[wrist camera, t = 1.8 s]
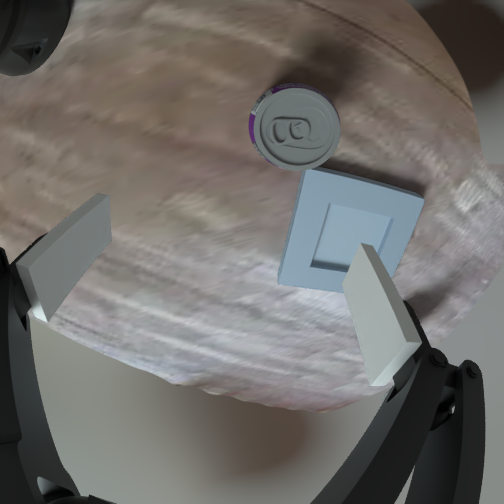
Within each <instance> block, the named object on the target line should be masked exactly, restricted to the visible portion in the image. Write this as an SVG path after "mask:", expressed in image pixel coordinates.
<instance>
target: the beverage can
mask: <svg viewBox="0 0 504 504" xmlns="http://www.w3.org/2000/svg"><path fill="white" fill-rule="evenodd" d="M249 133H250V137H251V140H252V143H253V145H254V147H255V148H256V150H257V151H258V153H259V154H260V155H261V156H262V157H263V158H264V159H265V160H267V161H268V162H270V163H271V164H273V165H275V166H277V167H280V168H283V169H287V170H293V171H304V170H309V169H312V168H315V167H317V166H319V165H321V164H323V163H324V162H325V161H327V160H328V159H329V158H330V157H331V155H332V154H333V153H334V151H335V149H336V148H337V145H338V143H339V139H340V119H339V115H338V112H337V110H336V108H335V106H334V105H333V103H332V102H331V100H330V99H329V98H328V97H327V96H326V95H325V94H324V93H322V92H321V91H319V90H318V89H316V88H314V87H312V86H309V85H306V84H301V83H286V84H281V85H278V86H275V87H273V88H271V89H269V90H268V91H266V92H265V93H264V94H262V95H261V96H260V97H259V99H258V100H257V101H256V103H255V104H254V106H253V108H252V111H251V114H250V118H249Z"/></svg>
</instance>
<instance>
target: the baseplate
mask: <svg viewBox="0 0 504 504" xmlns="http://www.w3.org/2000/svg"><path fill="white" fill-rule="evenodd" d="M424 201H425V199H424V198H423V197H421V196H420V195H419V194H418V193H415V192H412V191H409V190H406V189H403V188H399V187H396V186H393V185H389V184H386V183H382V182H379V181H375V180H371V179H368V178H364V177H360V176H356V175H352V174H348V173H344V172H340V171H336V170H332V169H327V168H323V167H318V166H317V167H315V168H312V169H309V170H304V171H302V175H301V179H300V184H299V188H298V192H297V197H296V201H295V205H294V209H293V214H292V218H291V222H290V226H289V230H288V234H287V239H286V243H285V247H284V251H283V255H282V259H281V263H280V267H279V271H278V284H280V285H287V286H294V287H301V288H309V289H316V290H324V291H332V292H339V293H344V290H343V287H342V283H343V281H344V278H345V276H346V274H347V272H348V270H349V267H350V265H351V263H352V261H353V258H354V256H355V254H356V251H357V249H358V247H359V244H360V243H364V244H368V245H372V246H373V247H374V249H375V250H376V252H377V254H378V256H379V257H380V259H381V261H382V263H383V265H384V266H385V268H386V270H387V272H388V274H389V276H390V277H391V278H392V276H393V274H394V272H395V270H396V268H397V266H398V264H399V261H400V259H401V257H402V255H403V253H404V251H405V248H406V246H407V244H408V241H409V239H410V237H411V234H412V232H413V230H414V227H415V225H416V222H417V220H418V217H419V215H420V212H421V209H422V207H423V204H424Z"/></svg>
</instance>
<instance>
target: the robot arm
mask: <svg viewBox="0 0 504 504" xmlns="http://www.w3.org/2000/svg"><path fill="white" fill-rule="evenodd" d="M69 12H70V0H0V73H2V74H5V75H8V76H19V75H26V74H29V73H31V72H33V71H35V70H36V69H37V68H39V67H40V66H41V65H42V64H43V63H44V62H45V61H46V60H47V59H48V57H49V56H50V55H51V54H52V52H53V51H54V49H55V48H56V46H57V44H58V43H59V41H60V39H61V37H62V35H63V32H64V30H65V27H66V24H67V21H68V17H69ZM111 241H112V234H111V219H110V195H106V194H100V193H97V194H96V195H95V196H93V197H92V198H91V199H89V200H88V201H87V202H85V203H84V204H83V205H82V206H80V207H79V208H78V209H76V210H75V211H74V212H73V213H71V214H70V215H69V216H68V217H67V218H65V219H64V220H63V221H62V222H60V223H59V224H58V225H57V226H56V227H55V228H53V229H52V230H51V231H50V232H49V233H46V234H44V235H42V236H41V237H39V238H38V239H36V240H35V241H34V242H33V243H32V245H30V246H29V247H28V248H27V250H24V251H23V252H22V253H21V254H20V255H19V256H18V257H17V258H16V259H15V260H14V261H13V262H12V263H11V264H10V265H9V262H8V259H7V256H6V253H5V250H4V249H3V248H1V247H0V504H116V503H113V502H109V501H106V500H104V499H101V498H98V497H95V496H92V495H89V497H84V496H80V493H79V491H78V489H77V487H76V485H75V483H74V481H73V480H72V478H71V476H70V475H69V474H68V473H67V471H66V470H65V468H64V467H63V465H62V463H61V461H60V458H59V456H58V453H57V451H56V447H55V445H54V442H53V439H52V435H51V432H50V429H49V426H48V423H47V419H46V415H45V412H44V407H43V404H42V399H41V395H40V391H39V386H38V381H37V375H36V370H35V364H34V357H33V350H32V341H31V332H30V320H29V316H28V313H27V312H28V310H29V309H30V308H32V310H33V313H34V315H35V317H36V318H39V319H41V320H43V321H45V322H49V320H50V319H51V317H52V316H53V315H54V313H55V312H56V310H57V309H58V308H59V306H60V305H61V303H62V302H63V301H64V299H65V298H66V297H67V295H68V294H69V293H70V291H71V290H72V289H73V287H74V286H75V285H76V283H77V282H78V281H79V280H80V278H81V277H82V276H83V274H84V273H85V272H86V271H87V269H88V268H89V267H90V266H91V265H92V263H93V262H94V261H95V260H96V258H97V257H98V256H99V255H100V254H101V253H102V251H103V250H104V249H105V248H106V247H107V246H108V244H109V243H110V242H111ZM342 287H343V290H344V293H345V296H346V300H347V303H348V306H349V310H350V313H351V316H352V320H353V323H354V327H355V330H356V334H357V338H358V341H359V345H360V349H361V353H362V357H363V361H364V365H365V369H366V373H367V377H368V381H369V385H370V386H385V385H386V384H387V383H388V382H389V381H390V380H391V379H392V378H393V380H394V383H395V385H394V386H393V387H392V388H391V389H390V390H389V391H388V392H387V393H386V394H385V395H384V396H383V397H382V398H381V399H382V400H383V399H384V398H385V397H386V398H385V400H384V402H383V404H382V406H381V407H380V409H379V411H378V413H377V414H376V416H375V417H374V419H373V421H372V422H371V424H370V425H369V427H368V429H367V430H366V432H365V433H364V435H363V436H362V438H361V439H360V441H359V442H358V444H357V445H356V447H355V448H354V450H353V451H352V452H351V454H350V455H349V457H348V458H347V459H346V461H345V462H344V463H343V465H342V466H341V467H340V469H339V470H338V471H337V473H336V474H335V475H334V476H333V478H332V479H331V480H330V481H329V483H328V484H327V485H326V486H325V487H324V489H323V490H322V491H321V492H320V493H319V494H318V496H317V497H316V498H315V499H314V500H313V501H312V502H311V503H310V504H394V503H395V501H396V499H397V498H398V496H399V494H400V492H401V491H402V489H403V487H404V485H405V483H406V481H407V480H408V478H409V476H410V474H411V472H412V470H413V468H414V465H415V468H414V472H413V476H412V480H411V484H410V487H409V491H408V494H407V498H406V501H405V504H479V499H480V493H481V486H482V478H483V469H484V455H485V403H484V388H483V379H482V373H481V370H480V369H479V366H478V365H477V364H476V363H474V362H473V361H471V360H465V361H464V362H463V363H462V364H461V365H460V366H459V367H457V366H454V365H451V364H449V363H448V360H447V358H446V356H445V355H444V354H443V353H442V352H441V351H440V350H438V349H436V348H431V346H430V344H429V341H428V339H427V337H426V335H425V333H424V331H423V328H422V326H421V325H420V322H419V320H418V319H417V316H416V314H415V312H414V310H413V308H412V307H411V306H410V305H409V304H408V303H407V302H406V301H404V300H402V299H401V297H400V295H399V293H398V291H397V289H396V287H395V285H394V283H393V281H392V279H391V277H390V276H389V274H388V272H387V270H386V268H385V266H384V265H383V263H382V261H381V259H380V257H379V256H378V254H377V252H376V250H375V249H374V247H373V246H372V245H368V244H364V243H360V244H359V247H358V249H357V251H356V254H355V256H354V258H353V261H352V263H351V265H350V267H349V270H348V272H347V274H346V276H345V278H344V281H343V283H342ZM454 406H455V410H454V413H452V408H453V407H454ZM415 463H416V464H415Z"/></svg>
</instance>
